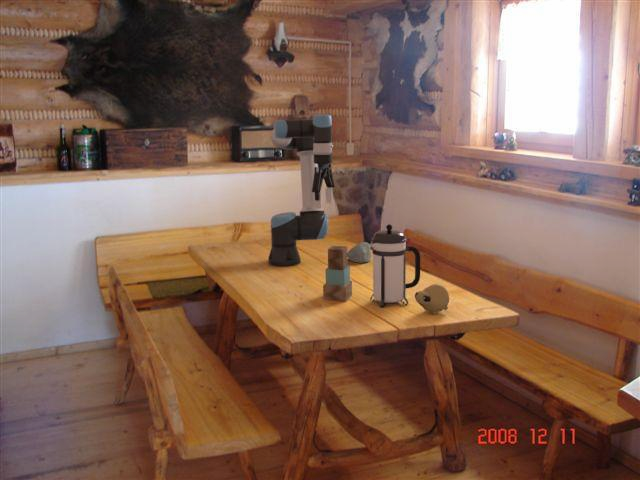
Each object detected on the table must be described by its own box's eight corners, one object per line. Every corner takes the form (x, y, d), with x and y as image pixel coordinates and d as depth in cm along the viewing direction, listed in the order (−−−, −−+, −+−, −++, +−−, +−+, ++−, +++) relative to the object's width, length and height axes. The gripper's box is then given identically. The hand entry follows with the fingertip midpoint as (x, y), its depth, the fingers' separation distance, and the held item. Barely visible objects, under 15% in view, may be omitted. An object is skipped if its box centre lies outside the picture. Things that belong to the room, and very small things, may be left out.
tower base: (323, 300, 265) (323, 285, 264) (330, 294, 273) (329, 279, 272) (345, 302, 262) (345, 287, 261) (352, 295, 271) (351, 280, 269)
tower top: (325, 284, 265) (325, 269, 264) (331, 279, 272) (331, 264, 271) (344, 285, 263) (344, 270, 261) (350, 280, 270) (349, 265, 268)
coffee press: (401, 311, 250) (401, 230, 243) (362, 304, 258) (361, 226, 252) (420, 298, 264) (421, 221, 258) (383, 293, 272) (383, 218, 266)
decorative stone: (377, 263, 320) (376, 243, 324) (358, 257, 315) (358, 238, 319) (360, 272, 330) (360, 252, 334) (342, 266, 324) (342, 247, 329)
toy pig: (410, 311, 249) (410, 283, 247) (438, 306, 254) (438, 278, 252) (425, 319, 240) (425, 289, 238) (454, 314, 245) (454, 285, 243)
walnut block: (328, 269, 263) (327, 249, 262) (332, 265, 269) (332, 245, 267) (343, 270, 262) (343, 249, 260) (347, 266, 267) (347, 246, 265)
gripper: (321, 156, 265) (322, 211, 269) (341, 151, 287) (341, 201, 292) (303, 156, 267) (304, 210, 271) (324, 150, 290) (325, 200, 294)
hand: (323, 205), depth 282 cm, fingers open, 13 cm apart
